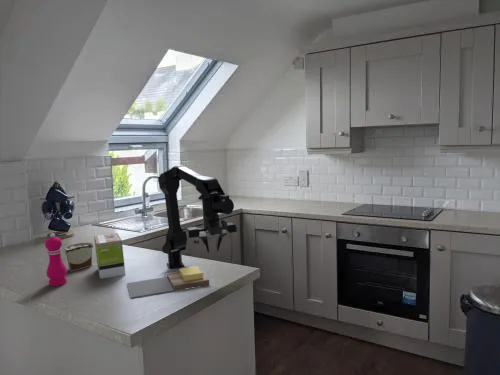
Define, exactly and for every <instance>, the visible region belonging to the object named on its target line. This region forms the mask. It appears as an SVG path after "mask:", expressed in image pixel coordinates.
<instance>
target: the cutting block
mask: <svg viewBox="0 0 500 375" xmlns="http://www.w3.org/2000/svg"><path fill="white" fill-rule="evenodd" d="M198 268H199V269H200V270H201V268H200V267H198ZM166 277H167V278H168V280H169V282H170V284H171V285H172V287H173V289H174V292H177V291H181V290H180V289H183V290H187V289H186V288H189V289H193V288H192V287H195V288H199V287H198V286H201V287H205V285H206V286H210V279H209V278H208V277H207V275H206V274H205V273H204V272H203V278H200V279H194V280H187V281H184V280H183V278H182V277H181V275H180V271H175V272H168V273H166ZM176 290H177V291H176Z"/></svg>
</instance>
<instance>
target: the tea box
mask: <svg viewBox="0 0 500 375" xmlns="http://www.w3.org/2000/svg"><path fill="white" fill-rule="evenodd" d="M93 238H94V246H95V253H96V254H95V255H96V263H97V269H98V275H99V279H107V278H113V277H119V276H123V275H126V268H125V257H124V247H123V241H122V238H121V237H120V235H119V233H118V232H113V233H106V234H101V235H100V234H99V235H94V237H93Z"/></svg>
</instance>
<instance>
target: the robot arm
mask: <svg viewBox="0 0 500 375" xmlns="http://www.w3.org/2000/svg"><path fill="white" fill-rule="evenodd" d="M182 180H183V181H185V182H187V183H188V184H191V185H192V186H194V187H195V190H196V191H197V192H198V193H200V195H199V196H198V198H197V199H198V200H199V201H201V204H202V219H203V220H202V222H203V225H202V227H203V228H198V227H197V226H190V227H187V228H186V229H185V230H183V228H182V226H181V219H180V218H181V217H180V211H179V203H178V202H179V201H178V192H179V190H180V182H181V181H182ZM157 182H158V184H159V189H160V190H161V192H162V194H164V199H165V208H166V216H167V218H166V219H167V224H168V230H167V232H166V235H165V243H164V244H163V246H162V247H161V249H162V253H163V254H166V255H167V260H168V261H167V263H166V265H167V267H168V268H169V269H175V268H180V267H181V268H183V267H185V264H184V262H183V256H182V251H186V249H187V244H188V238H189V239H192V238H199V239H201V241H202V243H203V245H204V247H205V250H206V252H207V254H210V248H209V240H208V239H209V237H208V235H210V236H215V248H216V252H219V250H220V246H221V243H222V241H223V238H224V237H225V236H228V234H227V233H226V232H228V233H231V234H232V233H236V232H238V227H237V225H236V224H235V223H233V222H231V221H230V222H228V221H227V219H221V220H220V215H219V214H222V215H230V214H232V213H233V211H234V209H235V204H234V201H233V200H232V199H231V198H230V195H227V194H226V193H225V191H224V190H223V188H222V186H221V184H220V182H219V180H218V179H217V178H216V177H215V178H214V177H211V176H206V175H205V176H204V175H201V174H199V173H197V172H195V171H194V170H192V169H190V168H188V167H186V166H185V165H183V164H181V165H174V166H173V167H171V168H169V169H168V170H166V171H164V172H162V173H160V175H159V176H158V177H157ZM207 234H208V235H207Z"/></svg>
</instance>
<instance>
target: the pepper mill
mask: <svg viewBox="0 0 500 375" xmlns="http://www.w3.org/2000/svg"><path fill="white" fill-rule="evenodd" d="M62 245H63V241H62V239H61V238H60V237H57V236H56V234H55V233H53V232H52V233H50V234H49V238H47V239H46V240H45V242H44V246H45V248H46V249H47V251H46V252H47V255H48V257H49V260H48V261H49V262H48V266H47V268H46V277H47V278H48V279H49V280H48V285H49V286H50V287H58V286H62V285H64V284H66V283H67V277H66V275H67V273H68V270H67V267H66V265H65V263H64V262H63V260H62V254H61V253H62V252H63V251H62V248H61V247H62Z"/></svg>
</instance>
